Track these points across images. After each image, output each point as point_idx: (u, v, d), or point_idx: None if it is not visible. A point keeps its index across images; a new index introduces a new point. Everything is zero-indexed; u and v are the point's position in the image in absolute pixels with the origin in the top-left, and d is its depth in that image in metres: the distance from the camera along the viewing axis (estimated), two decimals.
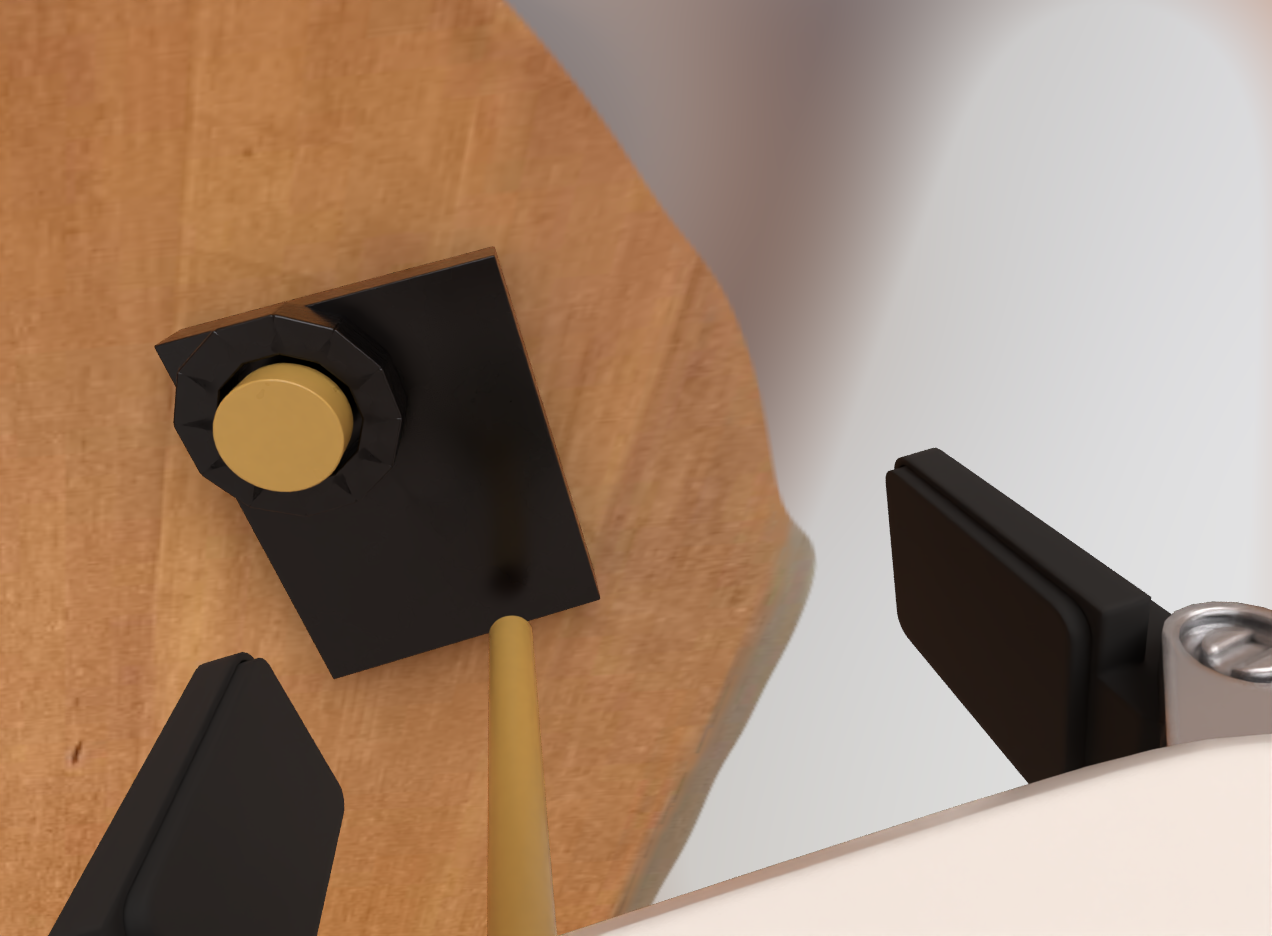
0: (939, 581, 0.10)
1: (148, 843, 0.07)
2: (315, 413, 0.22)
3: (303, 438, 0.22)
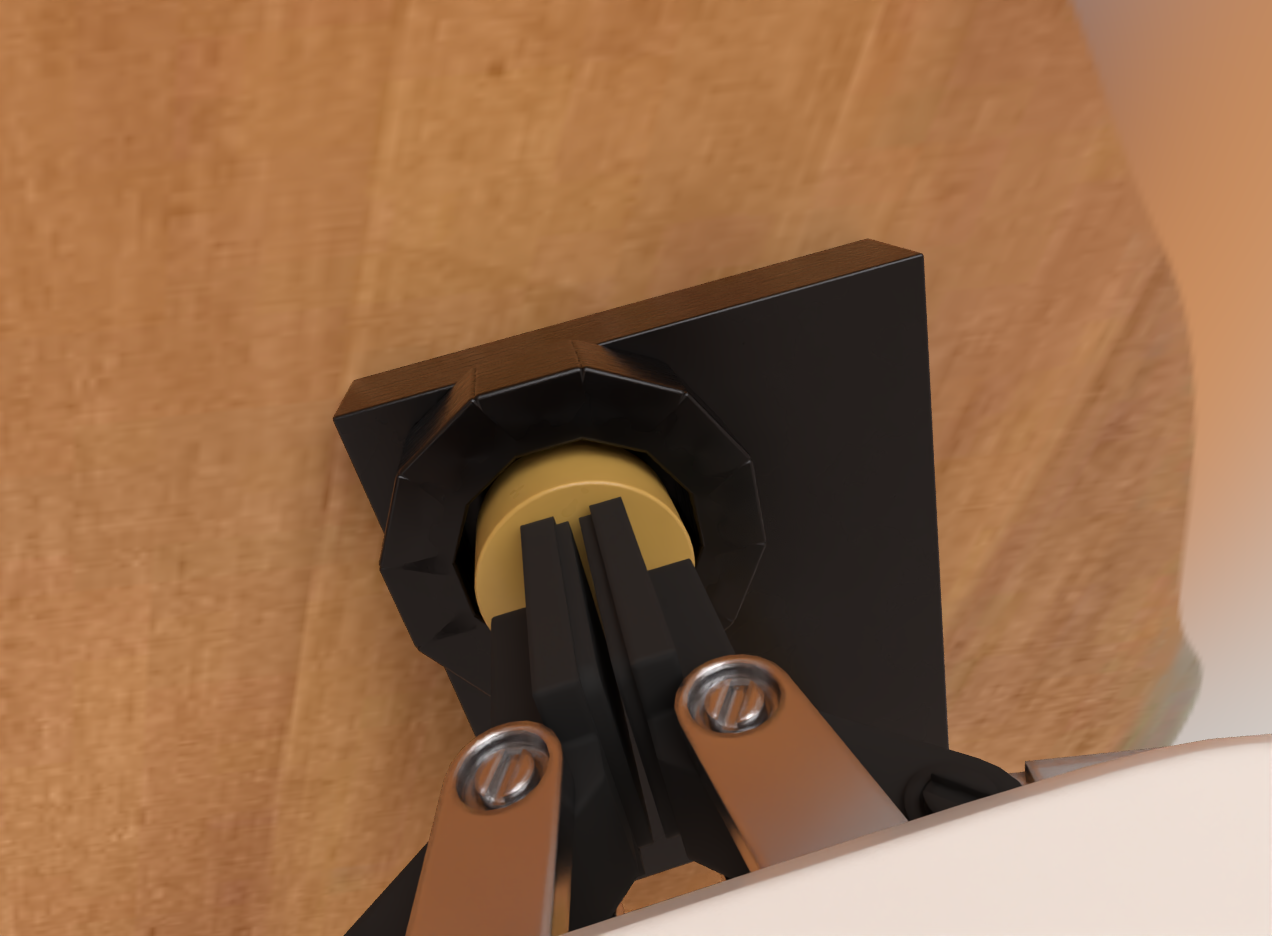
0: None
1: (571, 633, 0.08)
2: (657, 538, 0.12)
3: None
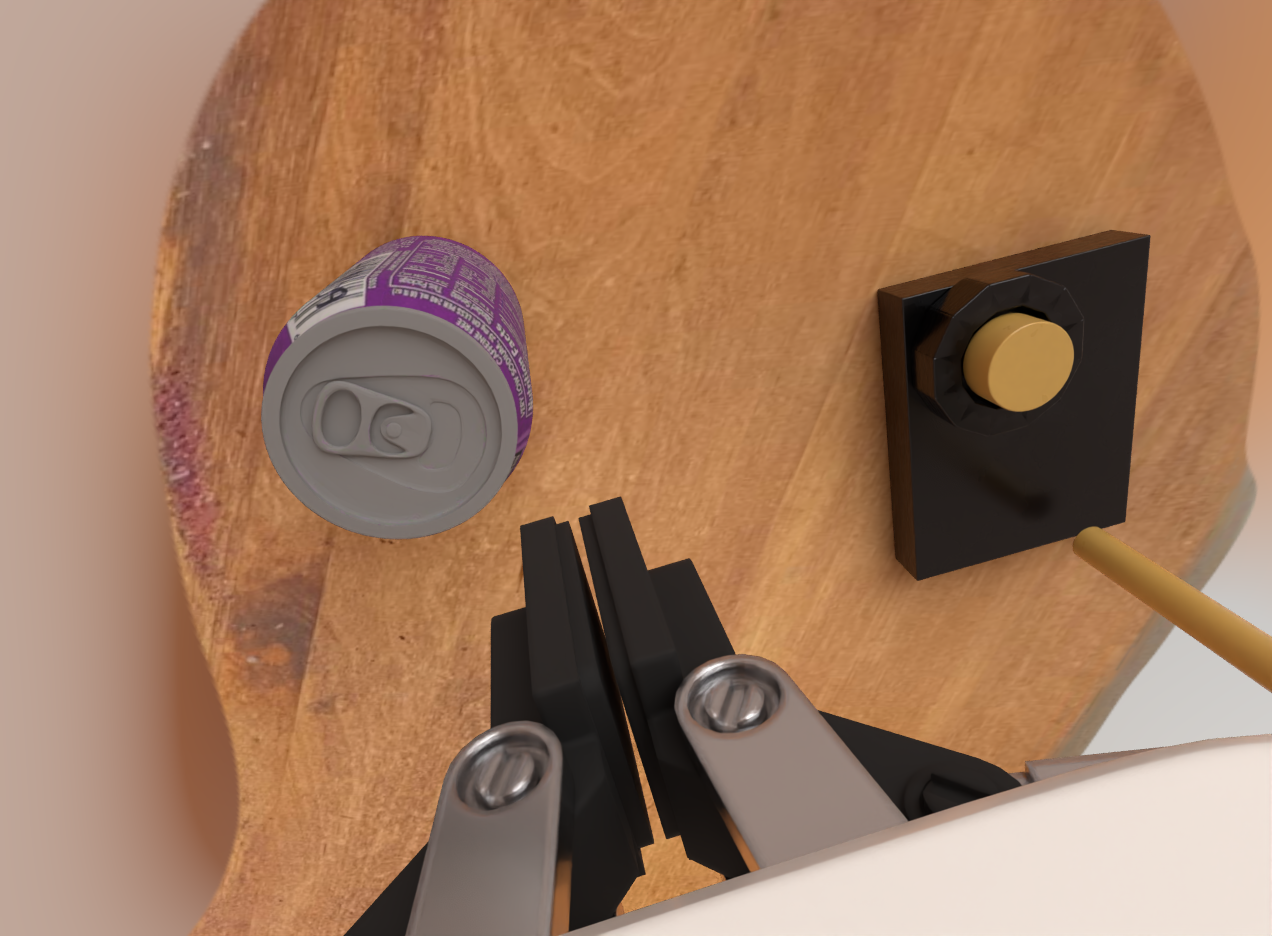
0: None
1: (571, 633, 0.08)
2: (1062, 349, 0.28)
3: (1046, 369, 0.29)
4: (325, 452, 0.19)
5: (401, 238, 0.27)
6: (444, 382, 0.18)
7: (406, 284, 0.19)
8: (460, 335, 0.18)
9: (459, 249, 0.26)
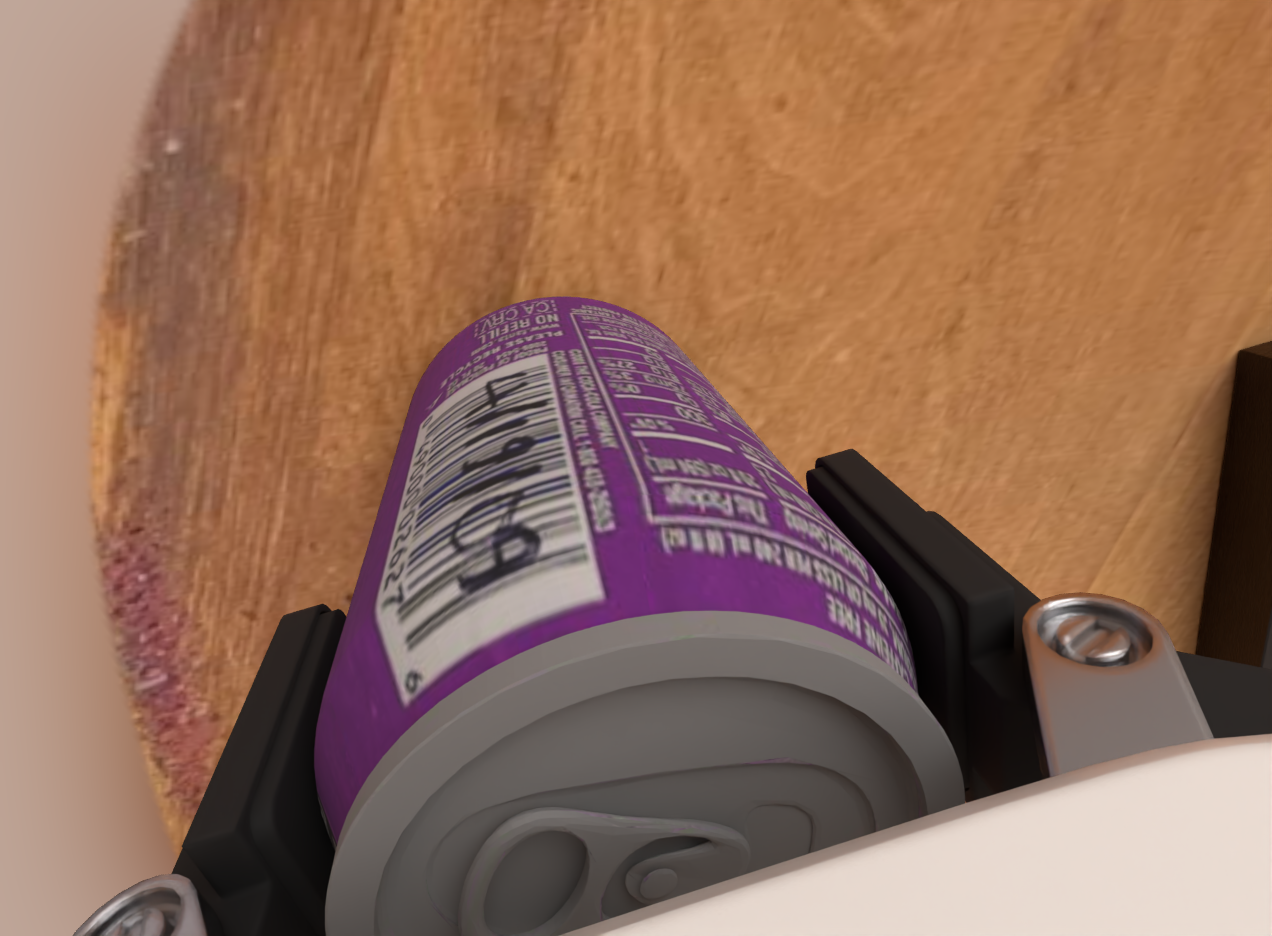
0: None
1: (263, 762, 0.08)
2: None
3: None
4: None
5: (520, 302, 0.15)
6: (793, 767, 0.07)
7: (689, 510, 0.07)
8: (876, 678, 0.06)
9: (635, 325, 0.14)
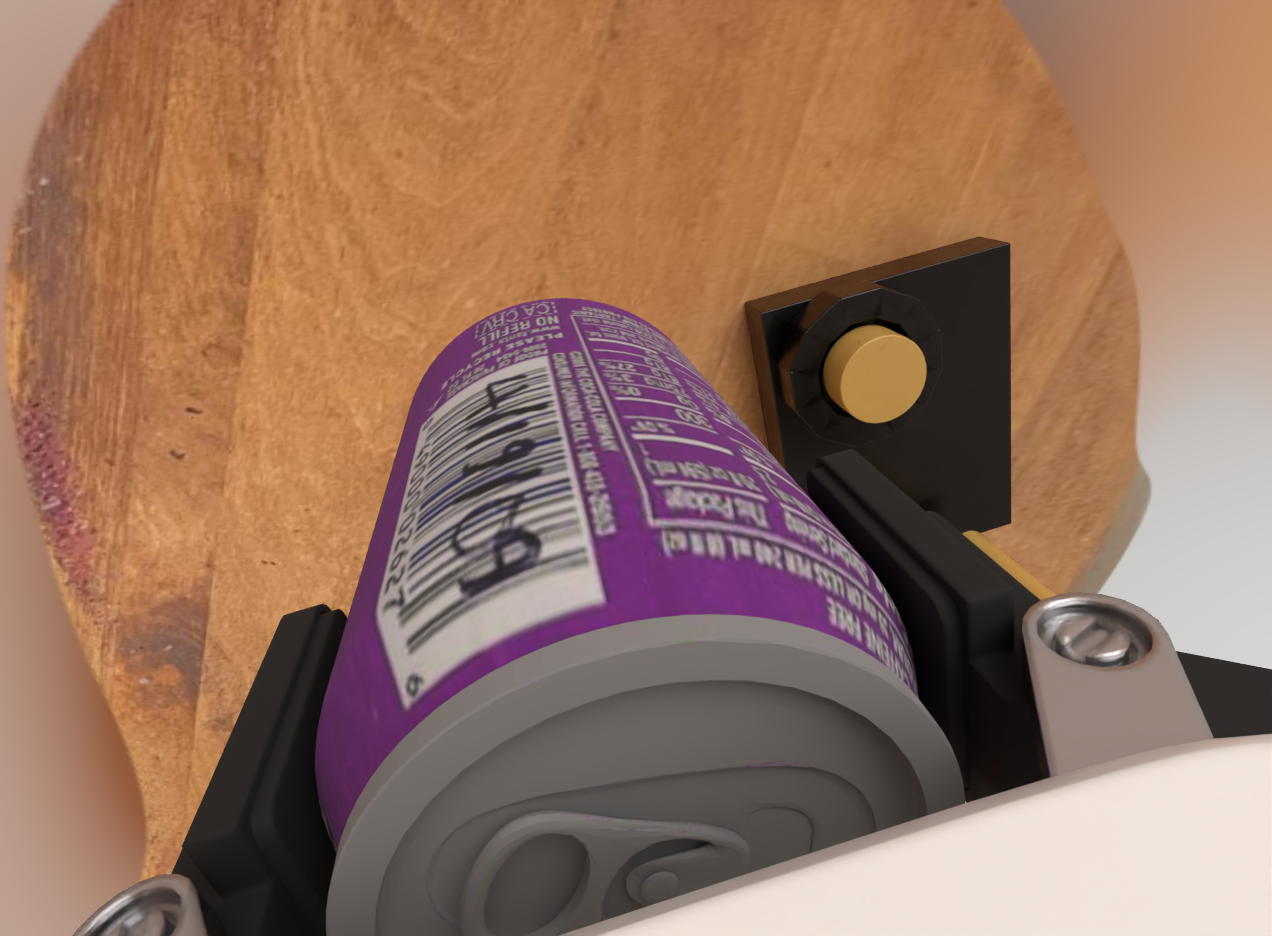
0: None
1: (264, 762, 0.08)
2: (913, 361, 0.29)
3: (899, 381, 0.29)
4: None
5: (520, 304, 0.15)
6: (794, 769, 0.07)
7: (688, 513, 0.07)
8: (876, 681, 0.06)
9: (635, 327, 0.14)
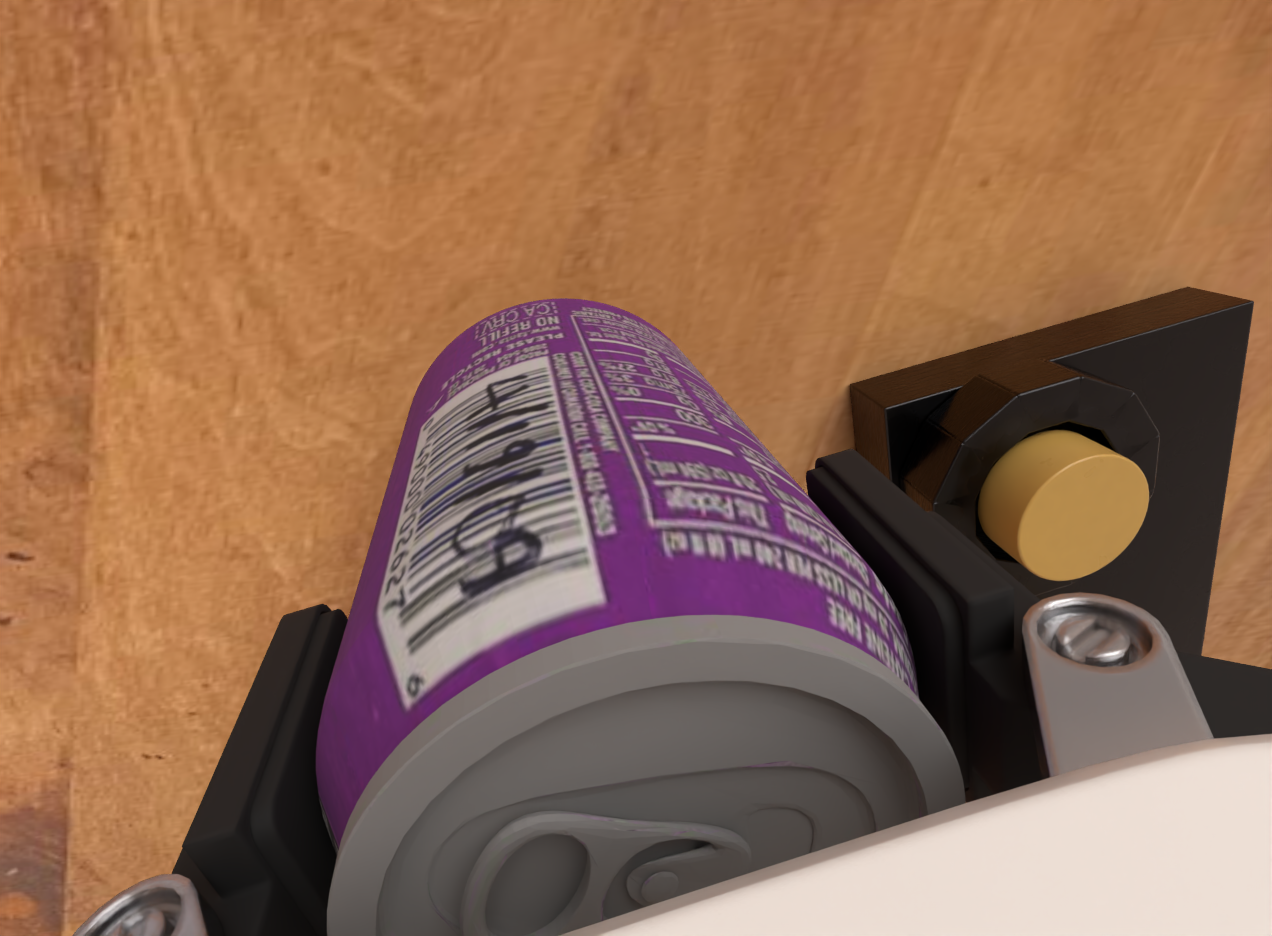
0: None
1: (263, 762, 0.08)
2: (1131, 492, 0.18)
3: (1107, 520, 0.19)
4: None
5: (521, 304, 0.15)
6: (794, 769, 0.07)
7: (688, 514, 0.07)
8: (877, 682, 0.06)
9: (635, 328, 0.14)
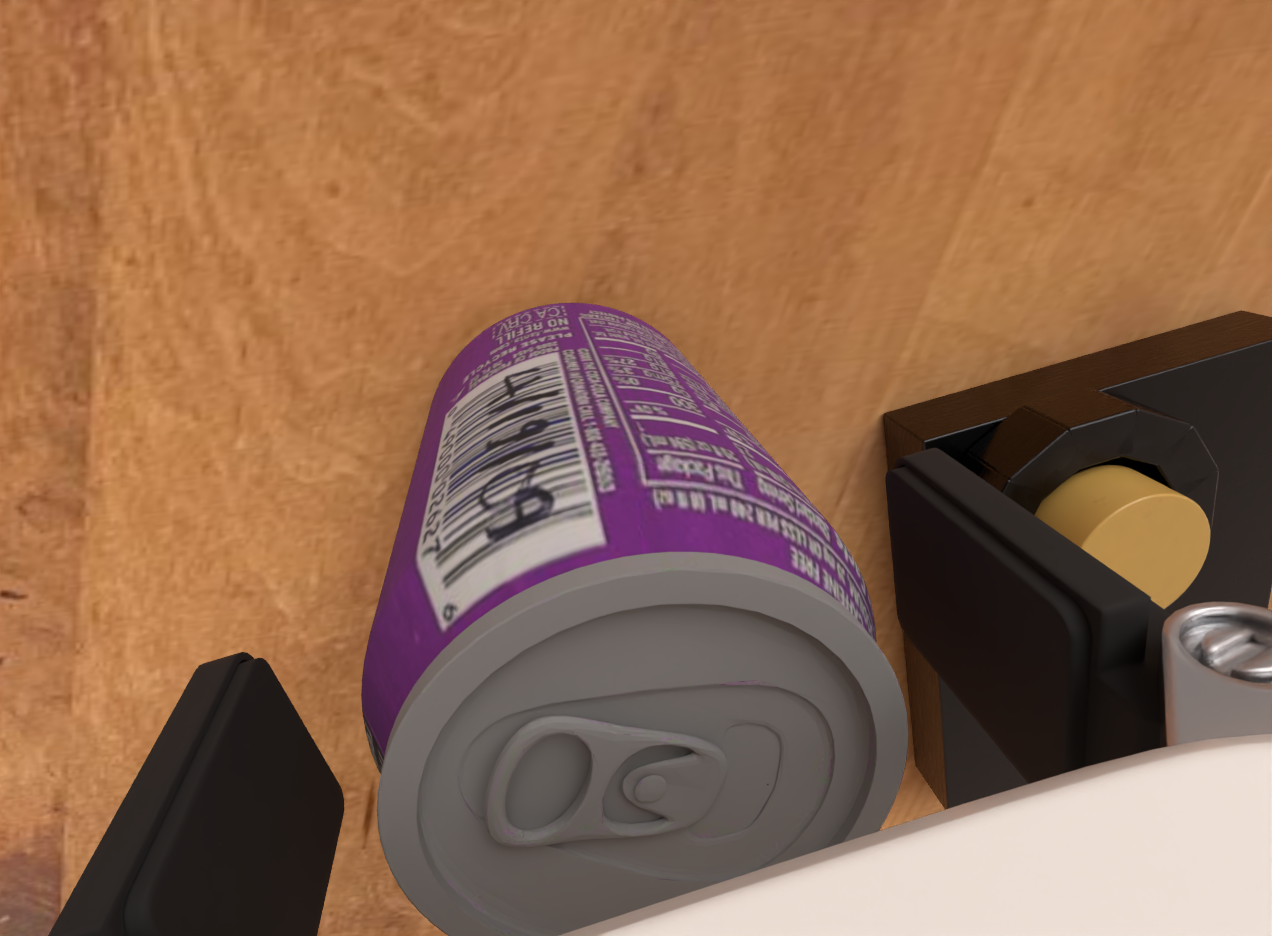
0: (939, 581, 0.10)
1: (148, 843, 0.07)
2: (1192, 533, 0.17)
3: (1165, 563, 0.17)
4: None
5: (533, 308, 0.17)
6: (762, 690, 0.08)
7: (675, 476, 0.09)
8: (827, 610, 0.08)
9: (637, 329, 0.16)
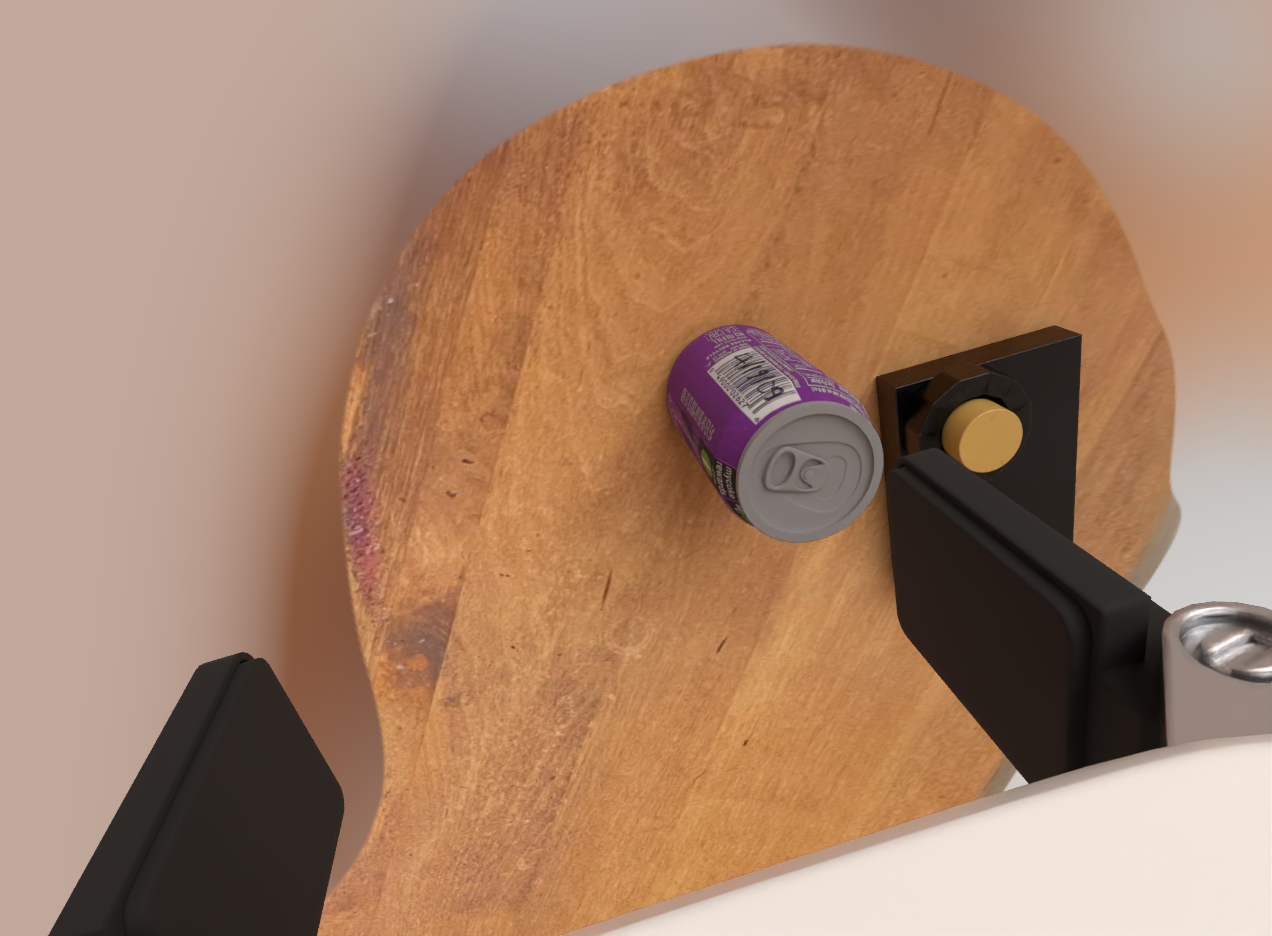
0: (939, 581, 0.10)
1: (148, 843, 0.07)
2: (1013, 427, 0.38)
3: (1002, 441, 0.39)
4: (767, 489, 0.30)
5: (720, 327, 0.38)
6: (841, 444, 0.30)
7: (816, 383, 0.30)
8: (861, 417, 0.29)
9: (770, 337, 0.37)
